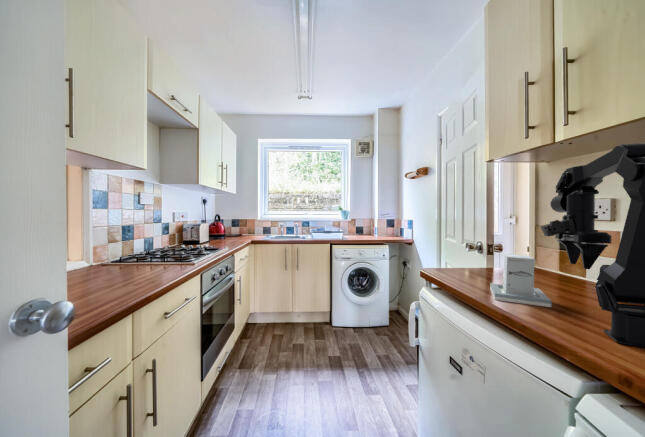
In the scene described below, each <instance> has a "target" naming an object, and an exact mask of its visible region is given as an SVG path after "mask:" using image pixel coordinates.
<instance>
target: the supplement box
mask: <svg viewBox="0 0 645 437" xmlns="http://www.w3.org/2000/svg"><path fill="white" fill-rule="evenodd" d="M535 260H536V259H535V258H534V257H532V256H531V255H523V254H521V255H520V254H509V253H504V254H503V270H502V272H503V273H502V274H503V276H502V285H503V290H504V292H505V293H508V294H516V295H524V296H532V297H533V296H534V288H535V282H534V281H535V280H534V279H535Z"/></svg>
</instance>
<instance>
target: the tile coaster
mask: <svg viewBox="0 0 645 437" xmlns="http://www.w3.org/2000/svg"><path fill="white" fill-rule="evenodd" d="M489 284H490V285H489V286H490V287H489V289H490V292H491V295H492V297H493V299H494V301H502V302H509V303H514V304H515V303H518V304H522V305H523V304H525V305H531V306H537V307H538V306H539V307H544V308H545V307H546V308H552V299H550V298H549V296H547V295H546V294H545V293H544V292H543V291H542V290H541V289H540V288H538V287H537V288H535V287H534V296H533V297H532V296H524V295H516V294H508V293H505V292H504V290H503V283H502V284H500V283H493V282H491V283H489Z"/></svg>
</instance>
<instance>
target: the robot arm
mask: <svg viewBox="0 0 645 437" xmlns="http://www.w3.org/2000/svg"><path fill="white" fill-rule="evenodd" d="M614 173H616V174H617V175H619V176H620V177H621V178H622V179H623V180H622V181H623V182H622V188H623V189H624V191H625V192H626V194H627V195H628V197H629V198H630V202H629V205H628V206H629V207H628V210H627V214H626V218H625V223H624V226H623V230H622V234H621V238H620V241H619V245H618V249H617V254H616V257H615V260H614V262H612V263H611V264H602V265H601V266H600V267H599V272H598V276H597V278H596V283H595V292H596V297H597V302H598V305H599V307H600V309H601V310H602V311H606V312H610V313H611V321H610V323H611V324H610V329H606V328H605V329H603V332H604V333H605V335H607V336H608V337H609V338H611V339H612V340H613V341H614V342H616V343H618V344H623V345H629V346H634V347H640V348H645V143H644V142H640V143H639V142H637V143H627V144H624V143H623V144H619V145H616V146H615V147H613V149H612V150H611V151H609V152H607V153H605V154H603V155H601V156H599V157H598V158H596V159H594V160H593V161H590V162H589V163H587V164H584V165H577V166H576V165H575V166H571V167H568V168H566V169H565V170H564V172H562V174H561V175H560V177H559V180H558V181H557V184H556V185H555V193H556V194H557V195H556V196H554V197H553V198H552V199H551V201H550V202H549V203H550V207H551V209H552V210H554V212H557V213H560V214H561V213H566V214H564V215H563V216H562V220H559V219H554V220H553V221H549V223H548V224H543V225H540V229H541V231H542V233H543V235H544V237H546V236H547V237H554V236H555V237H554V238H555V239H557V240H556V241H557V242H559V243H561V245H563V247H564V248H565V250H566V255H567V257H568V260H569V263H570V264H571V265H576V264H577V262H578V260H579V259H580V256H581V261H582V265H583V269H584V270H590V269H591V268H592V267H593V265H594V263H596V261H597V260H598V258H599V257H600V256H601V254H602V253H603V252H604V251H605V249H606V248H607V247H608V246H609V244H612V238H613V237H612V235H611V234H609V233H608V232H607V231H606V232H604V231H599V230H598V229H595V220H597V219H599V215H598V214H595V213H596V212H595V210H596V208H595V206H596V199H595V198H596V196H595V195H598V194H599V193H600V192H599V191H598V189H596V188H597V186H599V185H600V184H602V183H603V182H604V178H605V177H607V176H609V175H612V174H614Z"/></svg>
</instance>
